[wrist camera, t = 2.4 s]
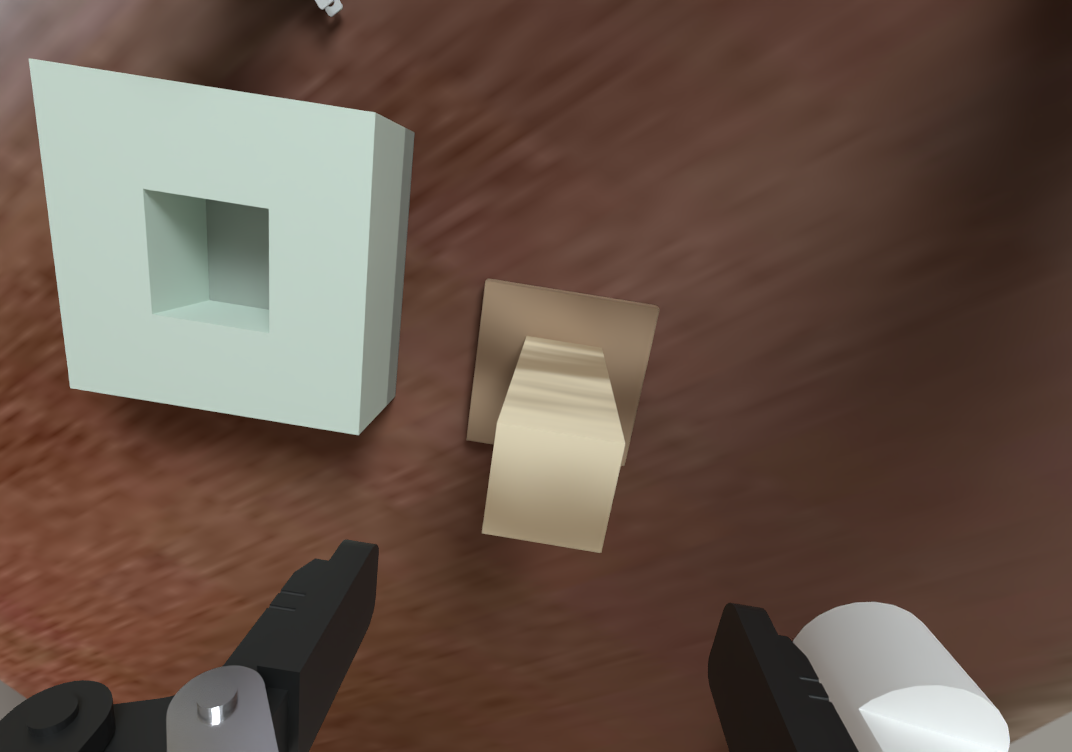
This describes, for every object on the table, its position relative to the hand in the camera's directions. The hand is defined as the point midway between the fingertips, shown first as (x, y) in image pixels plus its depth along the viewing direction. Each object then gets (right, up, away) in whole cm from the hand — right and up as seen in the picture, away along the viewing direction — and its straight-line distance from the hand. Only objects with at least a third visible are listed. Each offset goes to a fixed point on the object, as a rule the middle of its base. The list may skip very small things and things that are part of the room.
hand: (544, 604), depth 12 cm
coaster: (+1, +5, +17) cm, 18 cm away
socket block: (-14, +12, +16) cm, 25 cm away
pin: (+1, +5, +16) cm, 17 cm away
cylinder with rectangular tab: (+20, -13, +22) cm, 33 cm away
